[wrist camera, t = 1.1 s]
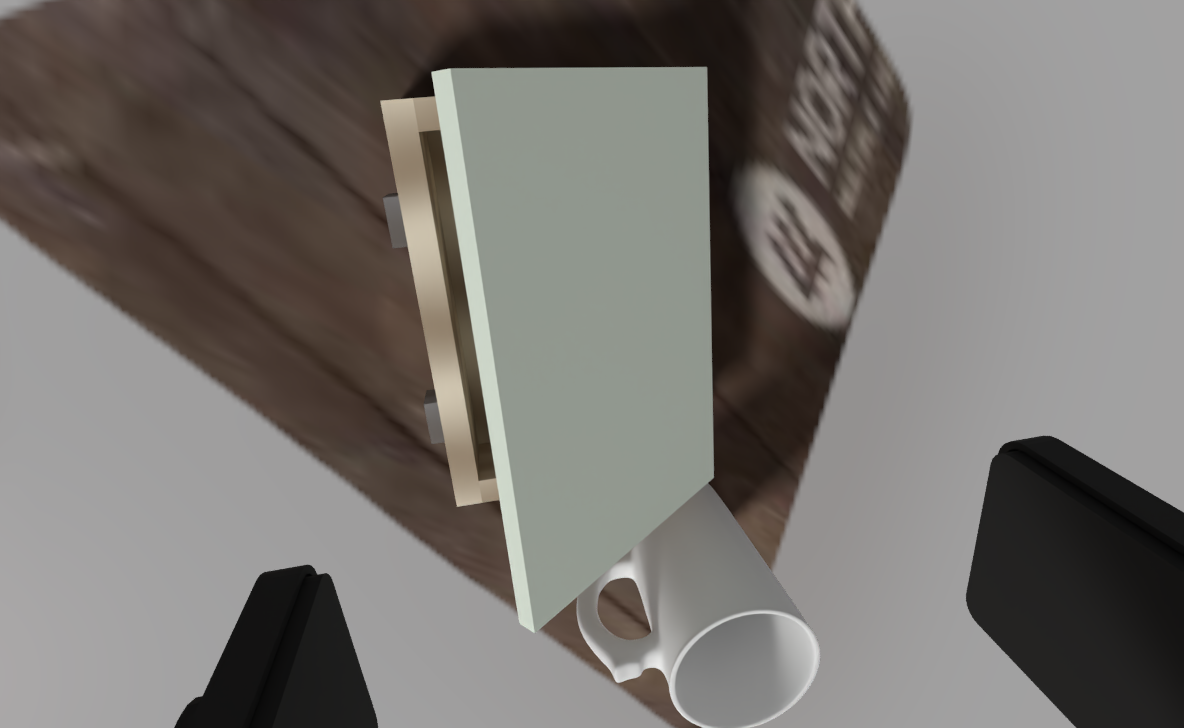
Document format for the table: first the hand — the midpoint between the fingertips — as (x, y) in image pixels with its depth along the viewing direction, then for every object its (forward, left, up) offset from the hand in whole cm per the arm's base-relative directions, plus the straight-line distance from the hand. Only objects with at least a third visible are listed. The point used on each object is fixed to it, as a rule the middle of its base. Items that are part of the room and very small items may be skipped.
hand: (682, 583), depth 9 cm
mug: (+17, +4, -25) cm, 30 cm away
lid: (+2, +2, -16) cm, 16 cm away
